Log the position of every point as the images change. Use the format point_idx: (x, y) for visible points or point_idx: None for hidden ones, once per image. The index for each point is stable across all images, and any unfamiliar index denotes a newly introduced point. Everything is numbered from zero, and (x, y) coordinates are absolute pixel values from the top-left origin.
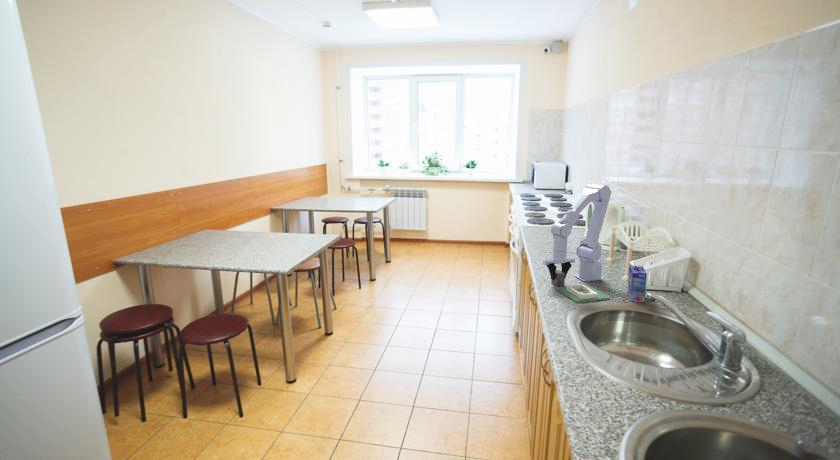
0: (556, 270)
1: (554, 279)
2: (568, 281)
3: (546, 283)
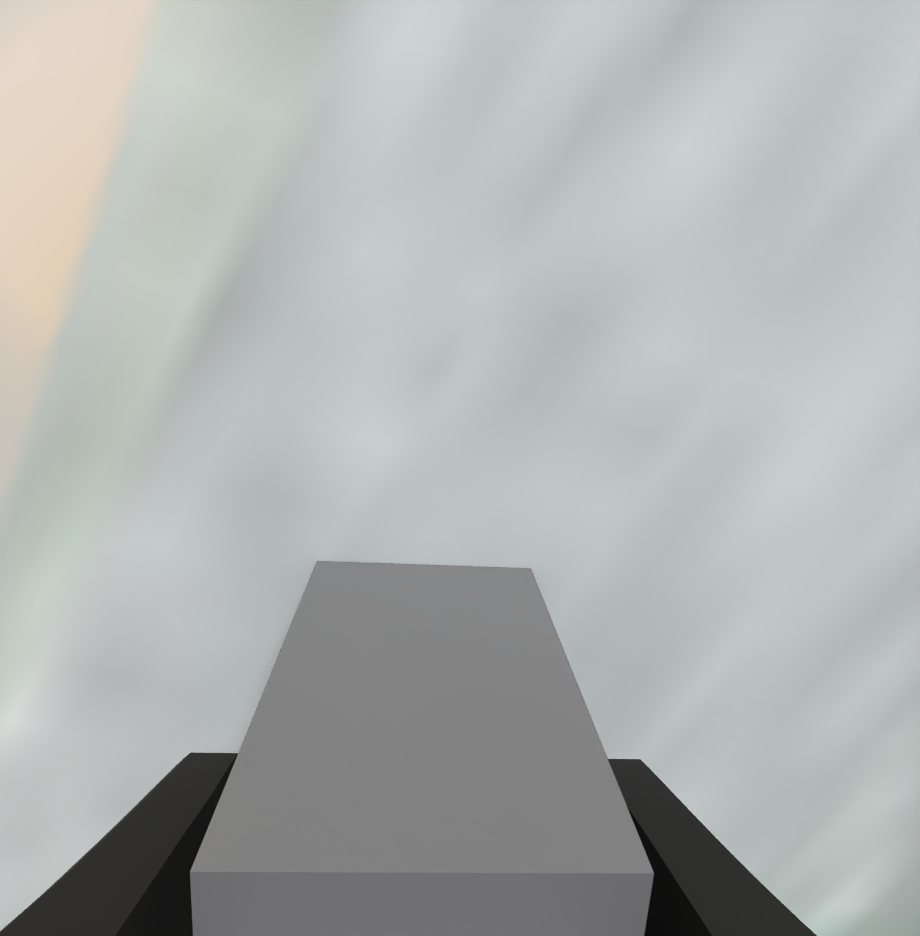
0: (446, 927)
1: None
2: (822, 581)
3: (165, 554)
